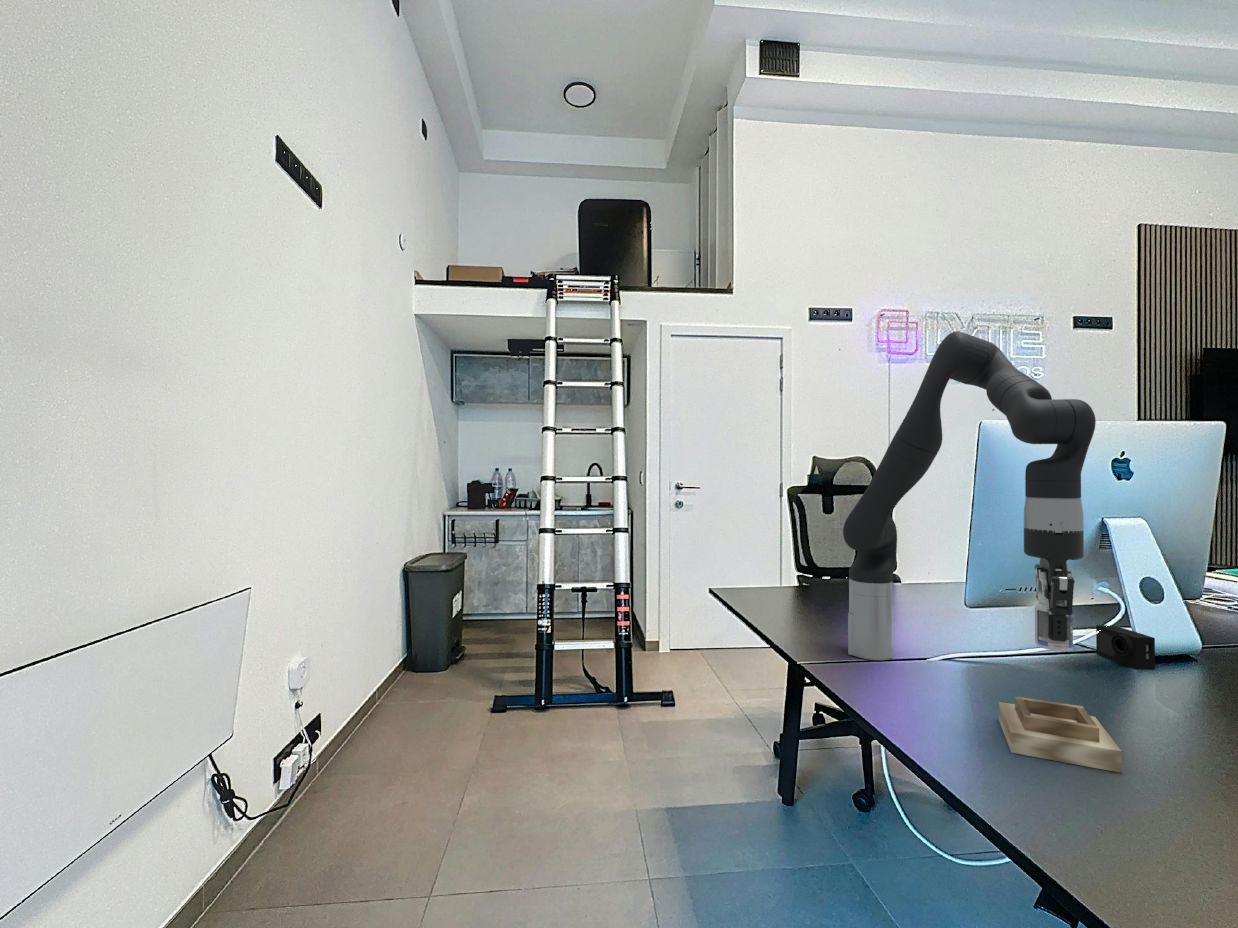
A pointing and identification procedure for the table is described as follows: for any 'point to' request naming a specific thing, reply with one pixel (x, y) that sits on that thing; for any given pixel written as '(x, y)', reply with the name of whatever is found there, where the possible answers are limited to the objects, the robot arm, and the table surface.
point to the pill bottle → (1042, 628)
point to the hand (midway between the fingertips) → (1053, 635)
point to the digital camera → (1126, 647)
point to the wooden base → (1058, 734)
